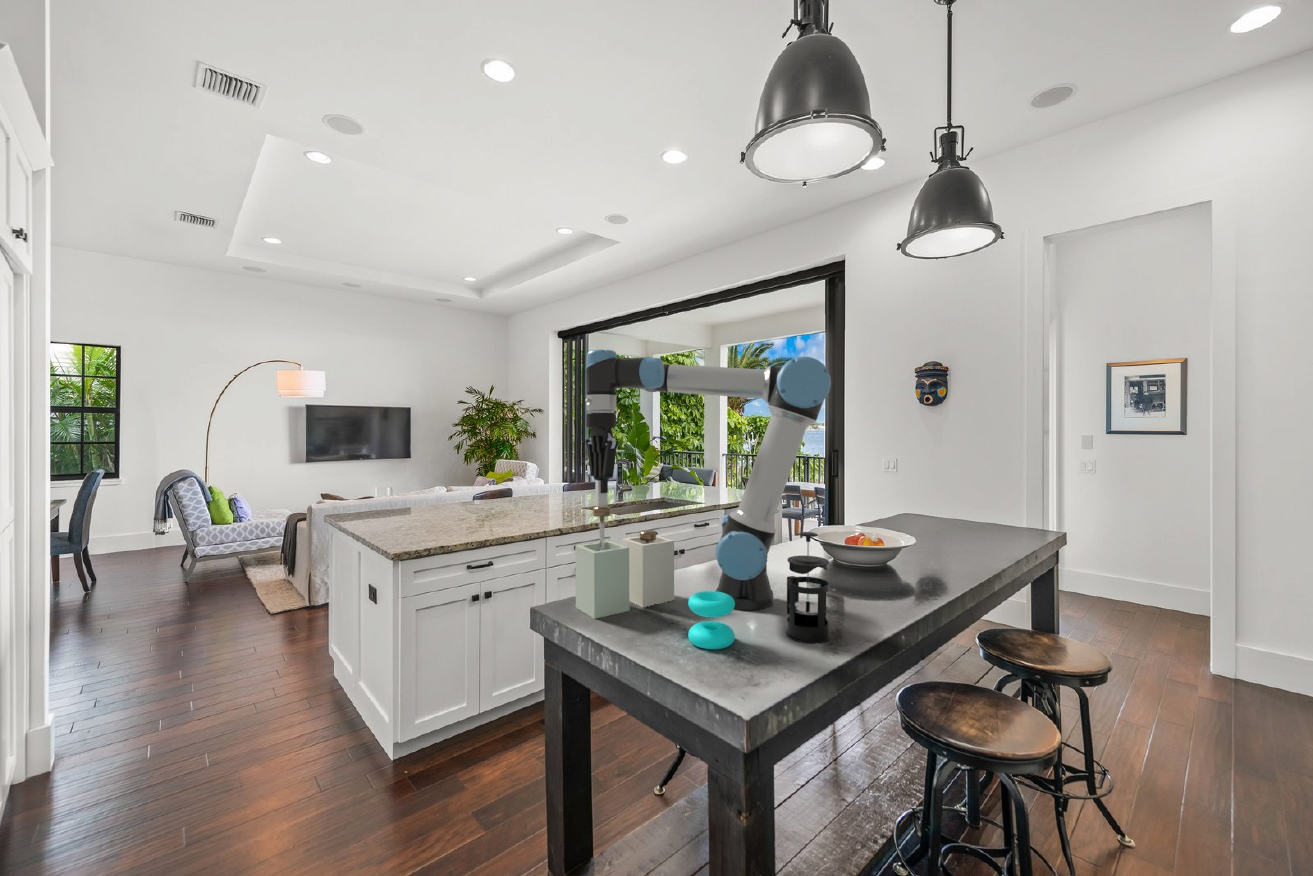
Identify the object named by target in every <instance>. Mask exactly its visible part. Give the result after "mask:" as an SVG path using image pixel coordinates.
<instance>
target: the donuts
mask: <svg viewBox="0 0 1313 876" xmlns="http://www.w3.org/2000/svg"><path fill="white" fill-rule="evenodd" d="M687 604H688V608H689V609H690V610H691V612H693V613H694V614H696V615H698V616H700V617H706V618H721V617H725V616H727V615H729V614H731V612H733V610H735V609H734V607H735V602H734V599H733V598H732V597H731V596H730V595H728V594H726V593H722V592H717V591H716V590H714V591H713V590H708V591H707V590H705V591H704V590H703V591H699V592H695V593H694V594H692V595H691V596H690V597H689V598H688V603H687ZM687 636H688V637H687V638H688V640H689V642H690V643H692V645H694V646H696V647H698V648H701V649H704V650H722V649H725V648H728V647H730V646H731V645H733V643H734V641H735V640H736V638H735V637H736V636H735V632H734V629H732V628H731V627H730V626H729V625H728V624H725V623H723V622H721V621H716V620H707V621H701V622H697V623H695V624H694V625H692V626H691V628H690V629H689V631H688V635H687Z"/></svg>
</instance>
